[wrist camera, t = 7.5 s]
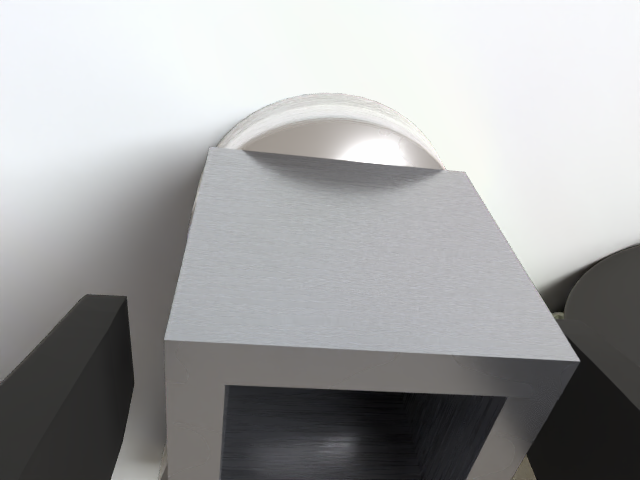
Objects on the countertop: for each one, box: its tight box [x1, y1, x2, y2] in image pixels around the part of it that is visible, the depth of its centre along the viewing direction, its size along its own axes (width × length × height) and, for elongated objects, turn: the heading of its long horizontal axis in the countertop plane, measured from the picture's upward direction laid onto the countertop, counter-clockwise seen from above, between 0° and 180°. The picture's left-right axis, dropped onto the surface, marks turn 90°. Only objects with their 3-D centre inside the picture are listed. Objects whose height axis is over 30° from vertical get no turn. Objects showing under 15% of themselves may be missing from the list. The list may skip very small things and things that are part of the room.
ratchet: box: [158, 93, 446, 480], centre depth 13 cm, size 13×6×4 cm, turn 158°
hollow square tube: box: [164, 147, 580, 480], centre depth 10 cm, size 5×5×5 cm
